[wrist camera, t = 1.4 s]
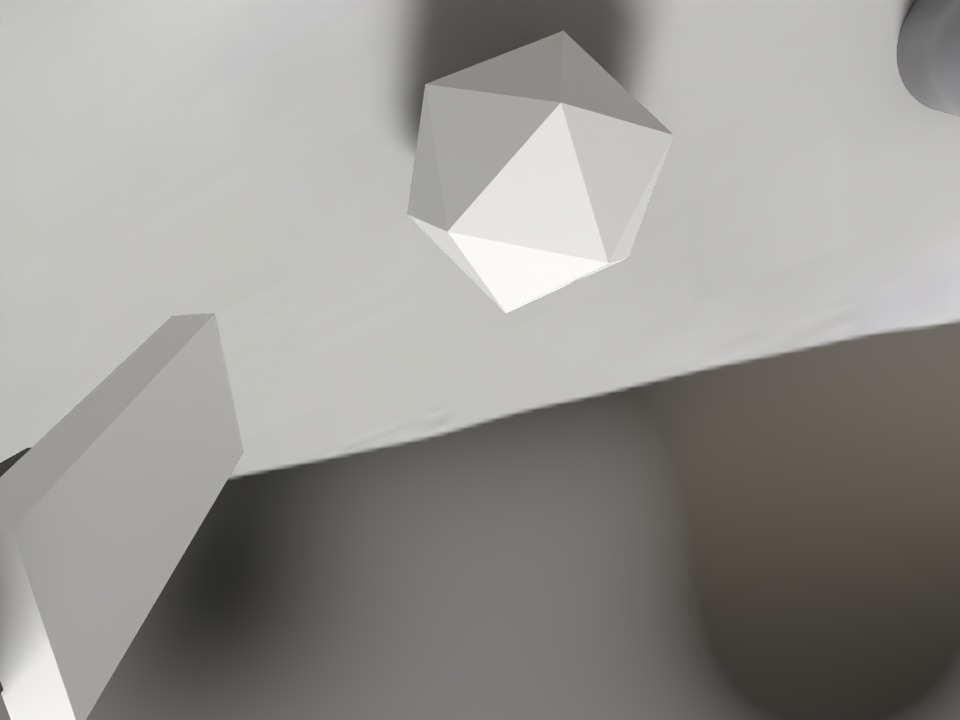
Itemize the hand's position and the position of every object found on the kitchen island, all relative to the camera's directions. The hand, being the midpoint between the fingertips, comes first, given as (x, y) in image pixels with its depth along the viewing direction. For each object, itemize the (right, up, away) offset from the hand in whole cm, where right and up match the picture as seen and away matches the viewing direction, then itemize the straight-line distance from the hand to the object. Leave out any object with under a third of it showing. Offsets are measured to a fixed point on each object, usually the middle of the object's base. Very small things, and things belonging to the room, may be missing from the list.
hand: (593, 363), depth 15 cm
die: (0, +8, +18) cm, 20 cm away
